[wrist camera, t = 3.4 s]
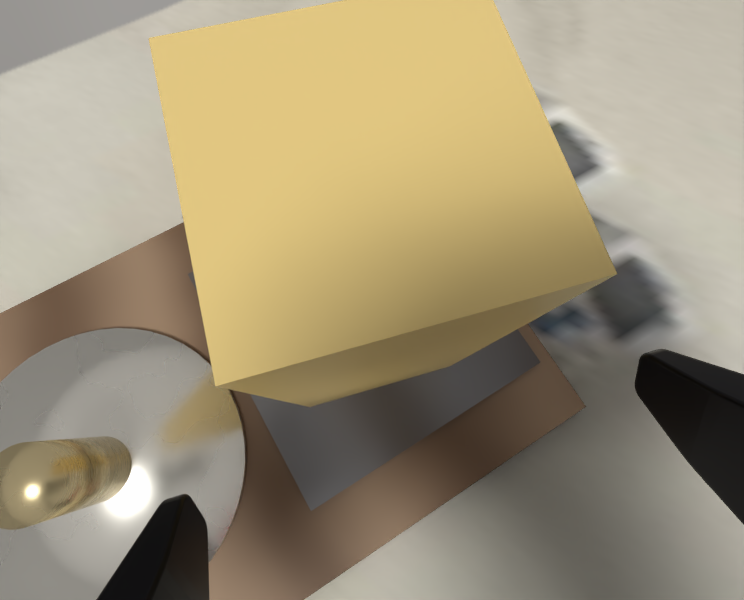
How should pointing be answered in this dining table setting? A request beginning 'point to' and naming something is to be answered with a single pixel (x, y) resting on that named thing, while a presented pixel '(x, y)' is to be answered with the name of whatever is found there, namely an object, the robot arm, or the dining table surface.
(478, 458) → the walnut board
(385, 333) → the tan wooden brick
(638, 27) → the dining table surface
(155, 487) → the silver metal disc
